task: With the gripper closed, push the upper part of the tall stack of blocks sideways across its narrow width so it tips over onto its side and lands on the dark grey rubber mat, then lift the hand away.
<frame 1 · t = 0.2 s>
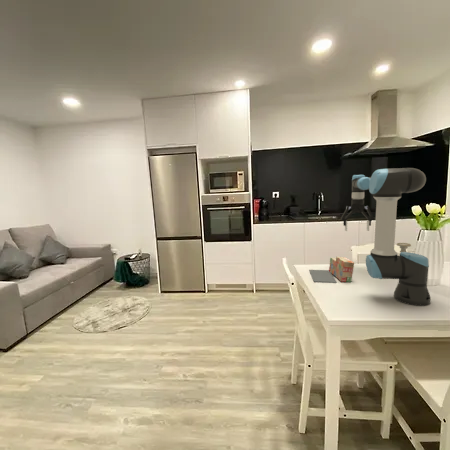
hand: (356, 230, 181), 27 cm above the table, tool pointing down, fingers open, 13 cm apart
stack of blocks: (339, 276, 173), on the table
candle holder: (401, 275, 172), on the table
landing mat: (321, 276, 175), on the table
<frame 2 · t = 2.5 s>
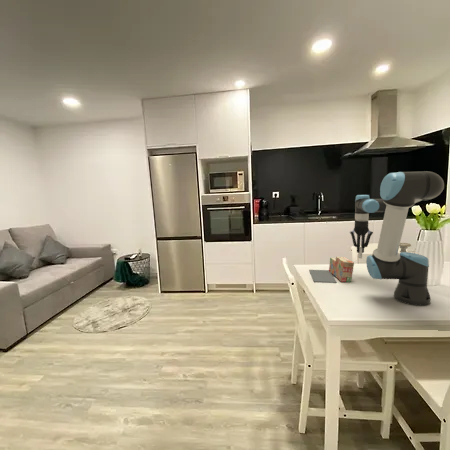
hand: (360, 257, 169), 13 cm above the table, tool pointing down, fingers closed
stack of blocks: (339, 276, 173), on the table, touching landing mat
everything else where it was.
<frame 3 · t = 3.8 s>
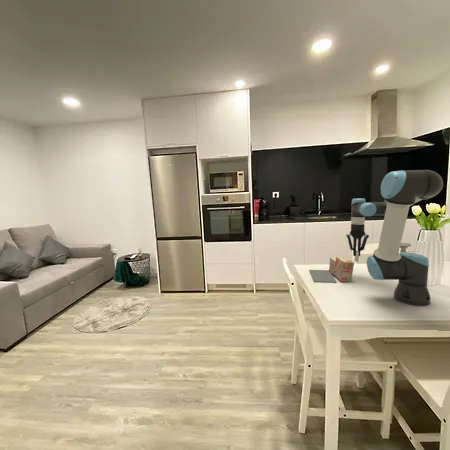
hand: (356, 261, 169), 10 cm above the table, tool pointing down, fingers closed
nothing on the table moved.
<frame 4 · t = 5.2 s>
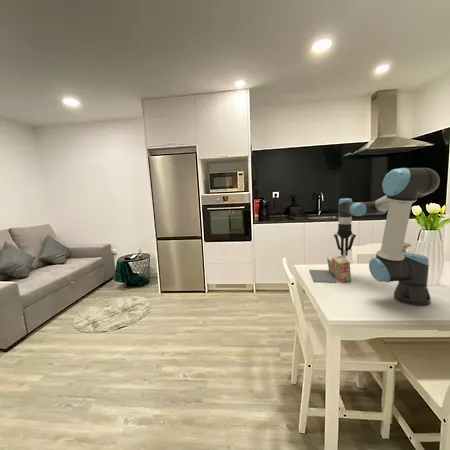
hand: (344, 260, 171), 11 cm above the table, tool pointing down, fingers closed
stack of blocks: (339, 275, 172), point 1 cm above the table, touching gripper, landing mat
everything else where it was.
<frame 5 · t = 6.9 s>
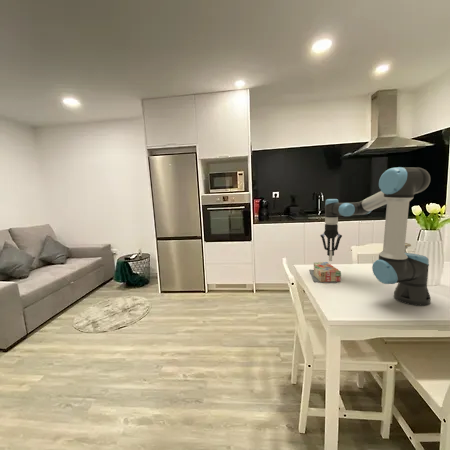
hand: (330, 260, 172), 10 cm above the table, tool pointing down, fingers closed
stack of blocks: (333, 271, 173), point 4 cm above the table, touching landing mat
everything else where it was.
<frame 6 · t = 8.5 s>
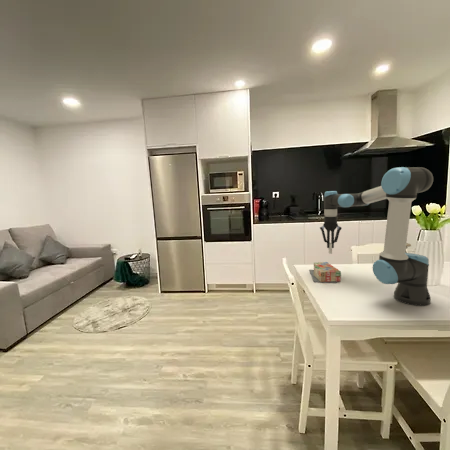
hand: (330, 253, 171), 15 cm above the table, tool pointing down, fingers closed
nothing on the table moved.
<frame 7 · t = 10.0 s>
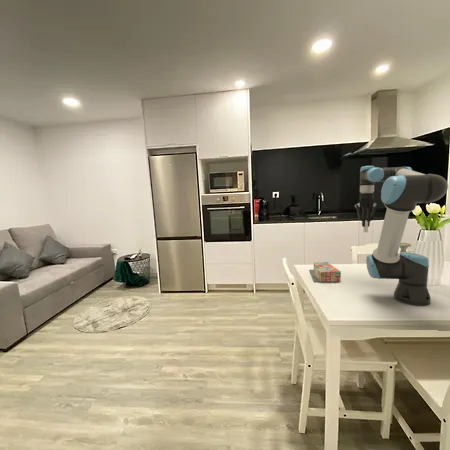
hand: (365, 232, 163), 29 cm above the table, tool pointing down, fingers closed
nothing on the table moved.
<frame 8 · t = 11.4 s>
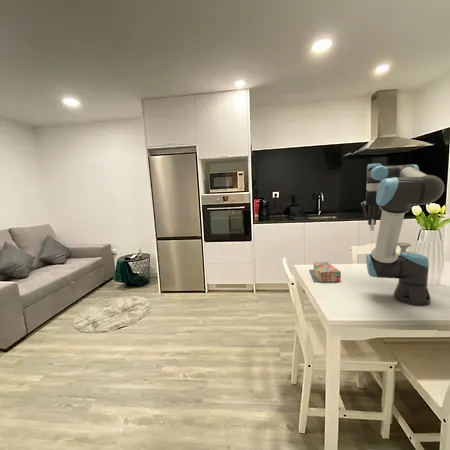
hand: (371, 230, 163), 30 cm above the table, tool pointing down, fingers closed
nothing on the table moved.
at the end: stack of blocks tilted 90°; stack of blocks inside the target area (1.7 cm from its centre), point 3.7 cm above the table; stack of blocks touching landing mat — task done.
